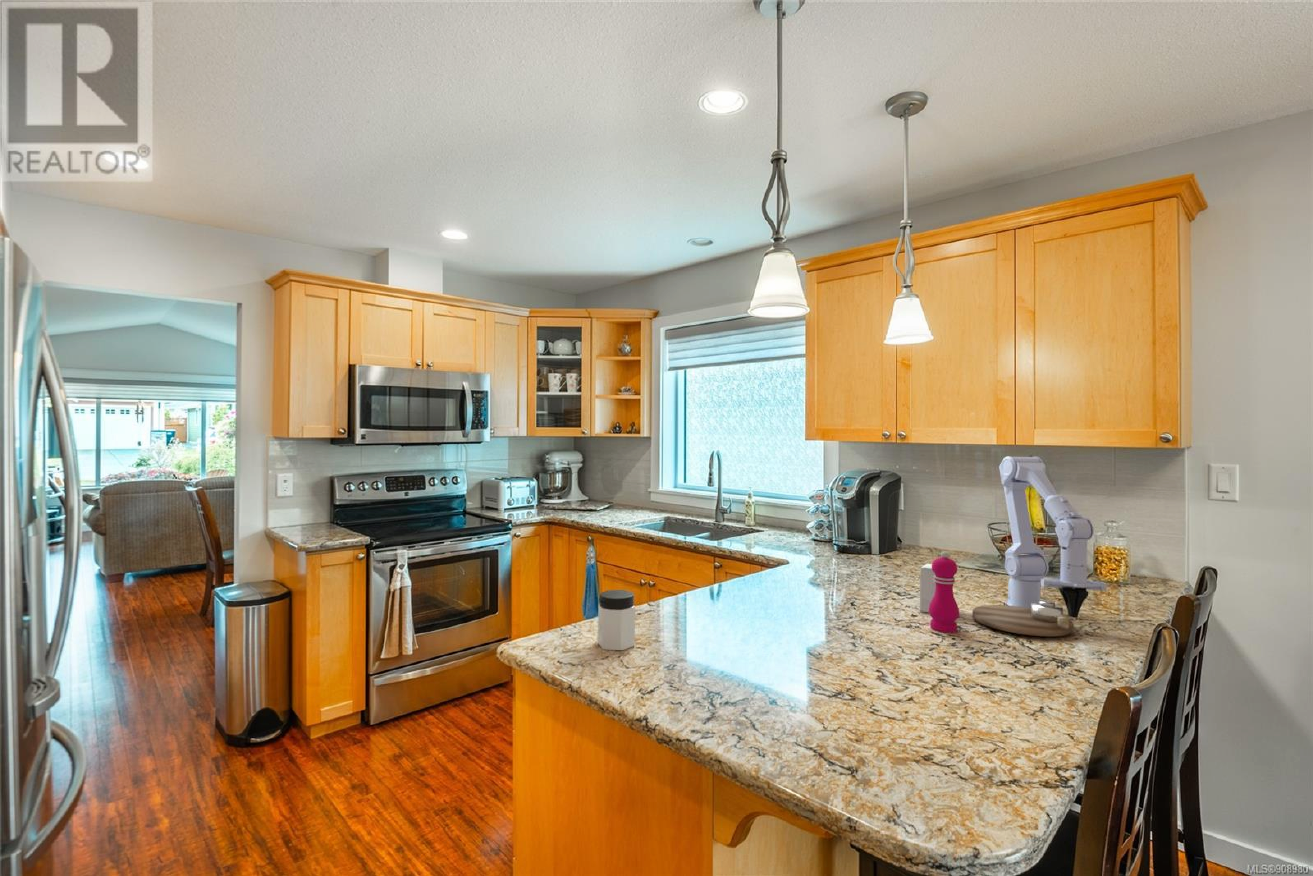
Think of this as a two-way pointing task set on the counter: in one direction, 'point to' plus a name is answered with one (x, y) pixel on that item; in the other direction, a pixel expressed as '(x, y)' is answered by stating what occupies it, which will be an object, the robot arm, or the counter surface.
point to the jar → (616, 620)
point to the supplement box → (926, 587)
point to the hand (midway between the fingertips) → (1072, 616)
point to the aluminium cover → (1046, 611)
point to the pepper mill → (944, 595)
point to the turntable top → (1020, 621)
